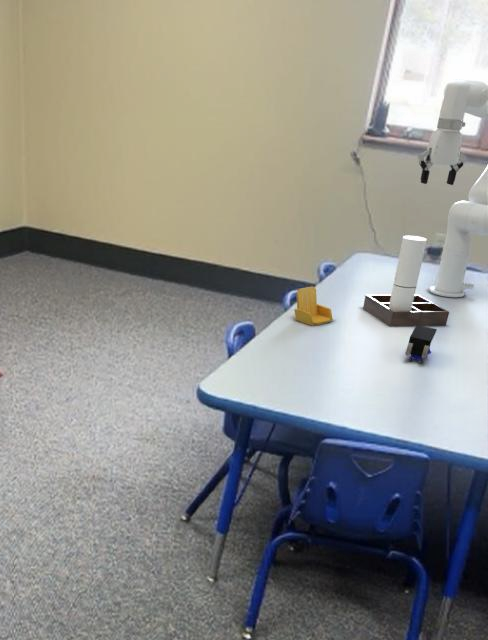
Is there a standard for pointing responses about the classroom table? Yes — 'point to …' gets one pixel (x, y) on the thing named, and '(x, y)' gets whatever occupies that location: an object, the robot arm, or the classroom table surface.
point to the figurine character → (420, 342)
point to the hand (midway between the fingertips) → (436, 183)
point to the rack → (406, 312)
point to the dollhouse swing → (311, 308)
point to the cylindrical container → (407, 273)
